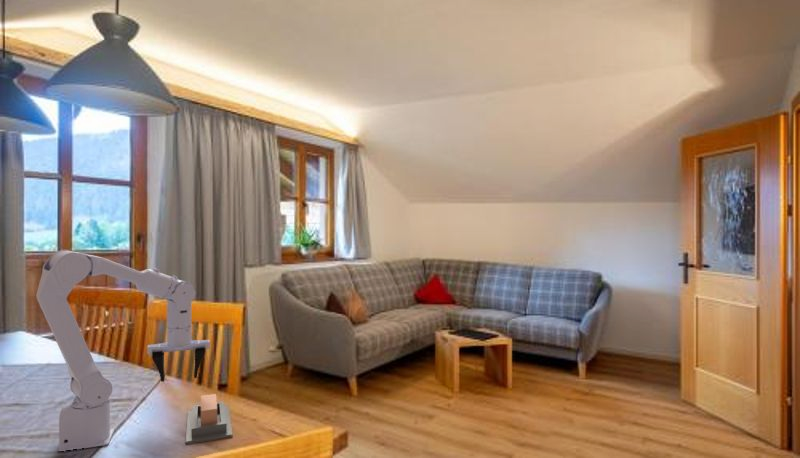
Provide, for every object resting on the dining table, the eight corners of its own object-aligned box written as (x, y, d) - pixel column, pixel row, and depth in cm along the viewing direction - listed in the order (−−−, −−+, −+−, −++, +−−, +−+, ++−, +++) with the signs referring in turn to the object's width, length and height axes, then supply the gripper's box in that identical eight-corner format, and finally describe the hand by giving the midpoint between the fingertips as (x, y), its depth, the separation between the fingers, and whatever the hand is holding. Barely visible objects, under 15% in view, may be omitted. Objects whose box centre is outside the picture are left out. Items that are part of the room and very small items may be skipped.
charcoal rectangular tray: (185, 444, 107) (185, 433, 107) (187, 413, 123) (187, 403, 123) (232, 436, 111) (232, 425, 111) (228, 407, 127) (228, 398, 127)
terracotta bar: (200, 431, 112) (200, 411, 112) (201, 415, 121) (201, 395, 121) (217, 429, 113) (217, 408, 113) (216, 412, 122) (216, 393, 122)
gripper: (145, 332, 115) (146, 387, 116) (209, 327, 121) (209, 380, 121) (148, 326, 122) (149, 378, 122) (209, 321, 128) (209, 371, 128)
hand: (179, 378), depth 122 cm, fingers open, 7 cm apart
